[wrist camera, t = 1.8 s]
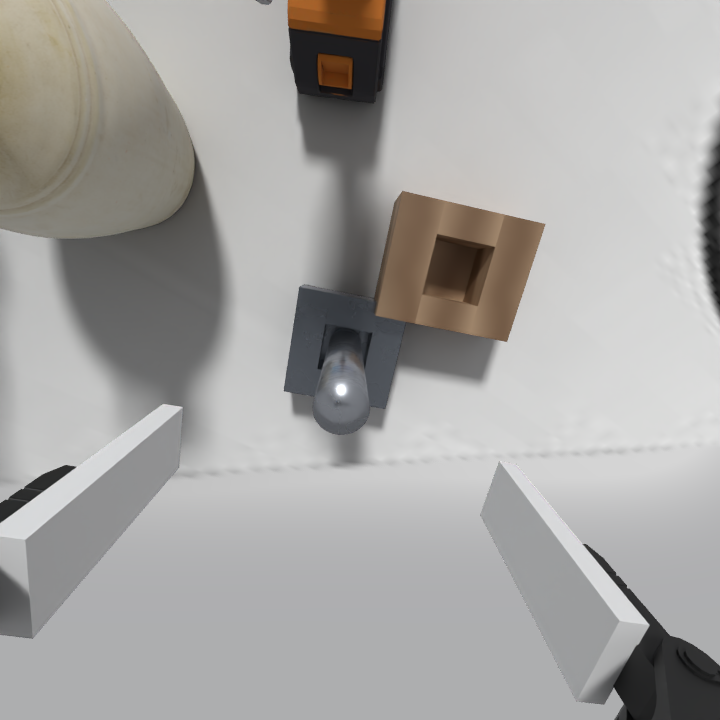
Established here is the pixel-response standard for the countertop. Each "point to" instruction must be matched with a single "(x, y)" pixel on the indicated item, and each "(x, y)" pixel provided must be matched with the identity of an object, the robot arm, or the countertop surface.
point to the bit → (342, 386)
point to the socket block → (325, 316)
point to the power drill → (338, 46)
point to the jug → (84, 125)
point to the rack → (455, 266)
